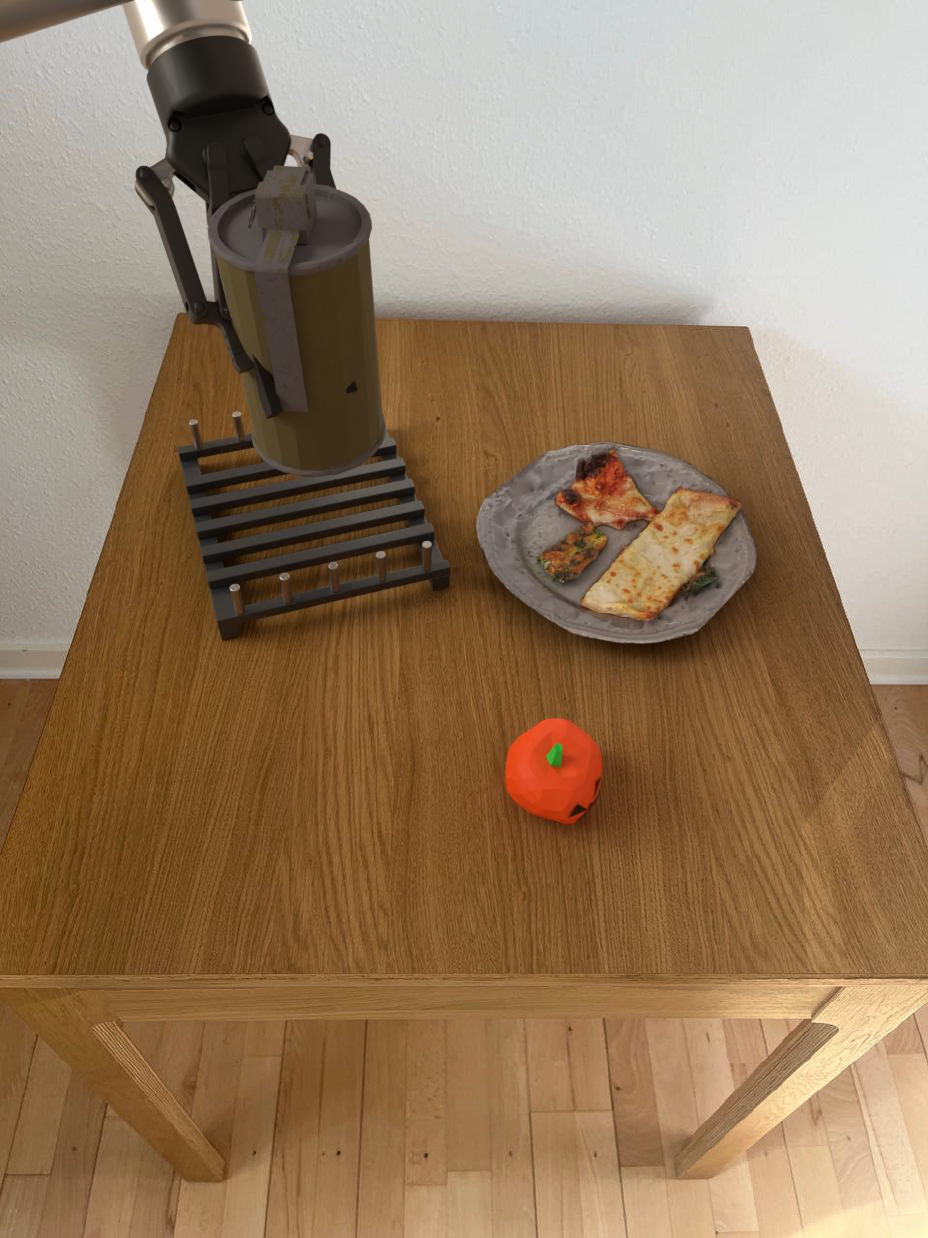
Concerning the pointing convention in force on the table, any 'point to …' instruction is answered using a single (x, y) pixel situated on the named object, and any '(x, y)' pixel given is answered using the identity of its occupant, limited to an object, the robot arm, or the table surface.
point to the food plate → (617, 542)
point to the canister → (304, 319)
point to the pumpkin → (554, 771)
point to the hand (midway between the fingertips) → (311, 403)
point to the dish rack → (302, 529)
